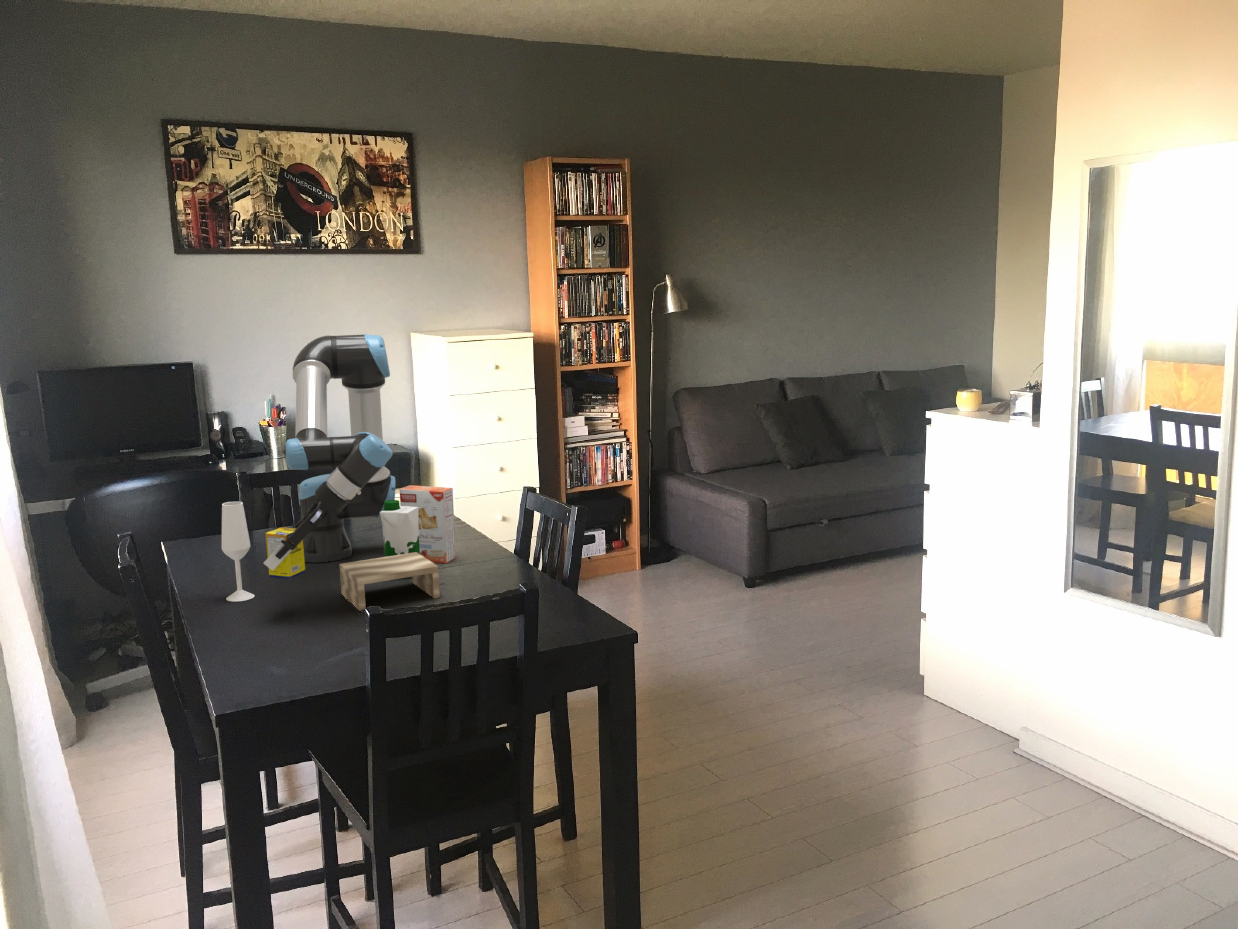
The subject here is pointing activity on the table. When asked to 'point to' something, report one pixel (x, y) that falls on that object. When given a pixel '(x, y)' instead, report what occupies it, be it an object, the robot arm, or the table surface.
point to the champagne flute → (235, 542)
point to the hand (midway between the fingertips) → (271, 561)
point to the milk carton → (399, 529)
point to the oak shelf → (387, 575)
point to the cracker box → (433, 520)
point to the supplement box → (292, 562)
